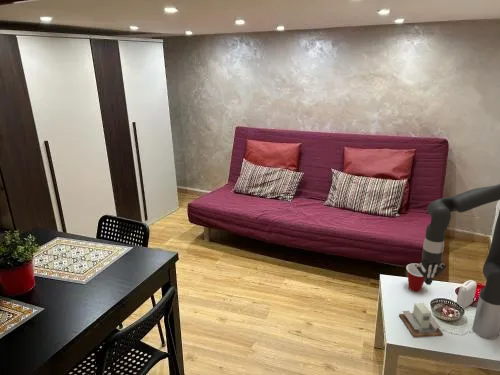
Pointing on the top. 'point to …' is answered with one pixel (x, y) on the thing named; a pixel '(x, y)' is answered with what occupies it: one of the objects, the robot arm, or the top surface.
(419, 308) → the block
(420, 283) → the plastic cup
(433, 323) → the grey base plate
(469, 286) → the white toy toaster
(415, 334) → the mounting board
